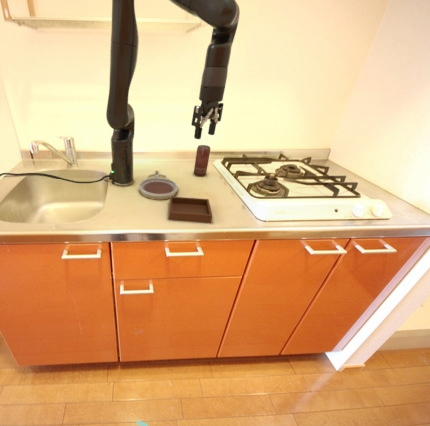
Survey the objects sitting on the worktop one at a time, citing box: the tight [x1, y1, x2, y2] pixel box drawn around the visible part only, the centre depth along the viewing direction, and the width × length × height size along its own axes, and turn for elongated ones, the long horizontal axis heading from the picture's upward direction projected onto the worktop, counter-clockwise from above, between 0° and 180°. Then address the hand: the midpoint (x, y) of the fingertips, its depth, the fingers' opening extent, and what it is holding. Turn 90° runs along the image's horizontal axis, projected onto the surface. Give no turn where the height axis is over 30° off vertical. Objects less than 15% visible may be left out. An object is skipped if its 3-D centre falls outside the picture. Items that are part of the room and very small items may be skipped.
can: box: [193, 144, 211, 178], centre depth 109 cm, size 6×6×14 cm
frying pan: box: [138, 169, 179, 201], centre depth 102 cm, size 17×3×28 cm
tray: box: [168, 196, 213, 224], centre depth 83 cm, size 15×12×3 cm
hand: (204, 136), depth 80 cm, fingers open, 8 cm apart
